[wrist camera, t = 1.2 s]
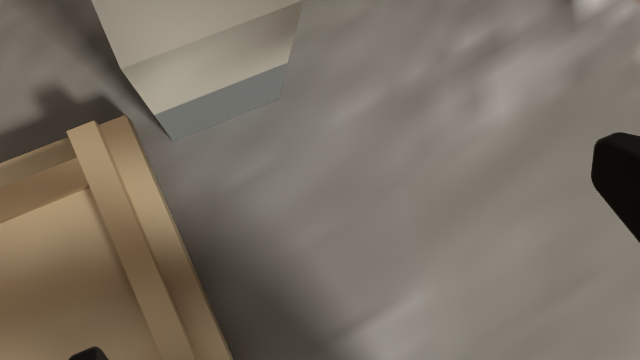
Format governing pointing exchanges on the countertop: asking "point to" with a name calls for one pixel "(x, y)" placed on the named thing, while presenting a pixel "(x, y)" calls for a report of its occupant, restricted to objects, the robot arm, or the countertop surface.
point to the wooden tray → (96, 256)
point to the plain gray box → (201, 55)
